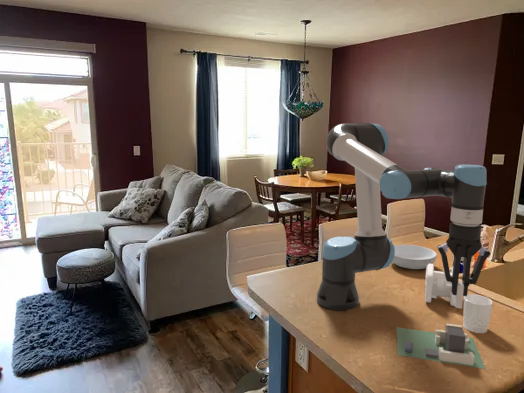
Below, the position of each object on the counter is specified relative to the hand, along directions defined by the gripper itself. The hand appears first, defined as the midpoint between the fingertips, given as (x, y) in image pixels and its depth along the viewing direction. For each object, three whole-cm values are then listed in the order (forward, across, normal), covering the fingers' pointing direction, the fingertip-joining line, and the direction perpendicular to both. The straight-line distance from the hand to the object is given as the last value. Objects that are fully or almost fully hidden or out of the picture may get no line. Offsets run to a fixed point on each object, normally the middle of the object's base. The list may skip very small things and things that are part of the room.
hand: (457, 305), depth 109 cm
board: (+15, -4, +2) cm, 15 cm away
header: (+14, 0, 0) cm, 14 cm away
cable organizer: (+15, +1, +37) cm, 40 cm away
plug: (+14, 0, 0) cm, 14 cm away
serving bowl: (+15, -7, +71) cm, 73 cm away
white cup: (+15, +9, +17) cm, 24 cm away
